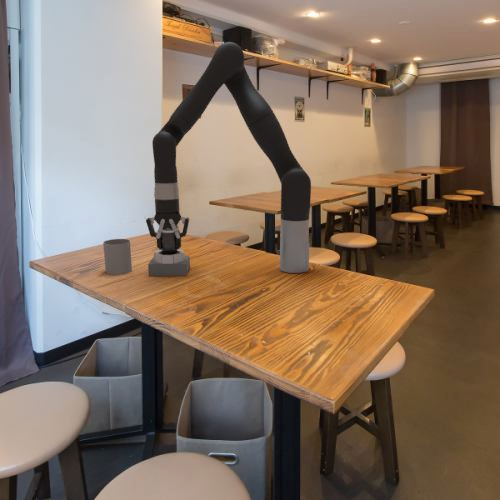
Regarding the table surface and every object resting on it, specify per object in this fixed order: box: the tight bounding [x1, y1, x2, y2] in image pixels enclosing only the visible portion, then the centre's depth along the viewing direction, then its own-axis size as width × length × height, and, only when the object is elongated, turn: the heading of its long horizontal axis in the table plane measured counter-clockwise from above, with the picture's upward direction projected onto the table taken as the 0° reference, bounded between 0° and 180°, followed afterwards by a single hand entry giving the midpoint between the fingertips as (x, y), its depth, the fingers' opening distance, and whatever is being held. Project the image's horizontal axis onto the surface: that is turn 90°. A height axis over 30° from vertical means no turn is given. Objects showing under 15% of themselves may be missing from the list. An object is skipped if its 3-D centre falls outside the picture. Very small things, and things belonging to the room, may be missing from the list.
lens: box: [161, 228, 177, 255], centre depth 140 cm, size 5×5×9 cm
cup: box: [102, 238, 133, 276], centre depth 141 cm, size 8×8×10 cm
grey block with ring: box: [147, 248, 191, 277], centre depth 141 cm, size 12×10×6 cm
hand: (169, 248), depth 140 cm, fingers closed on lens, 5 cm apart
